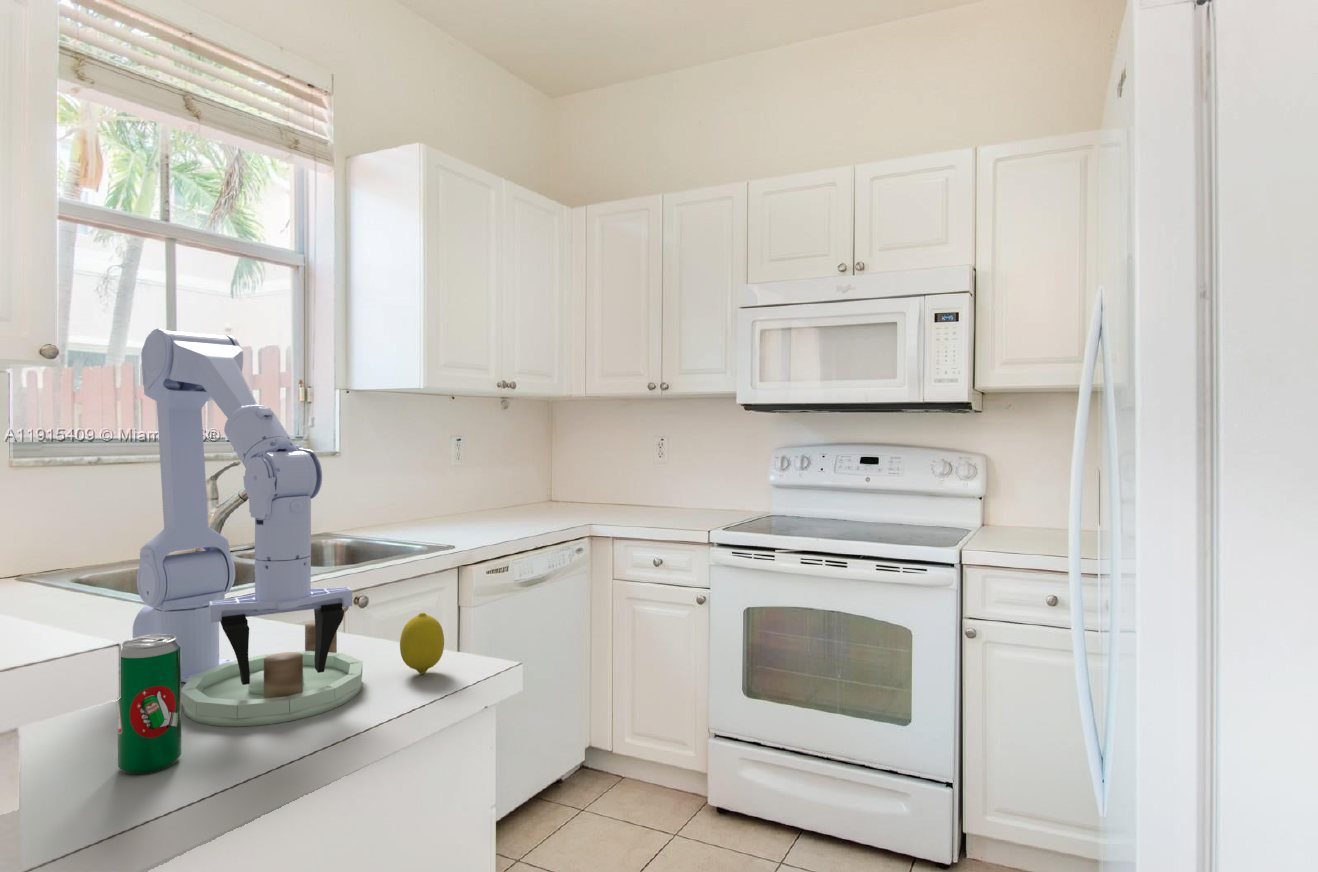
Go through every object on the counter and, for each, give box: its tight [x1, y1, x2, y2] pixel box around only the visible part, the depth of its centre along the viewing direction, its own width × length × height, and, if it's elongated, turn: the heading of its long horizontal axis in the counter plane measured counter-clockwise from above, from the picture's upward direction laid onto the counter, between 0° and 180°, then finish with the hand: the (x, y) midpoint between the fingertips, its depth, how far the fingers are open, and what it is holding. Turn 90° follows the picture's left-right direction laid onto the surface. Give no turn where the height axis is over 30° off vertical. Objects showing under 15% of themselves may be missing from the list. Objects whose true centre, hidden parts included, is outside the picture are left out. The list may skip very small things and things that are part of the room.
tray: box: [181, 650, 363, 727], centre depth 93 cm, size 19×19×2 cm
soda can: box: [117, 634, 182, 776], centre depth 74 cm, size 5×5×12 cm
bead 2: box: [304, 620, 338, 653], centre depth 106 cm, size 4×4×5 cm
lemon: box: [399, 612, 445, 675], centre depth 101 cm, size 6×6×8 cm
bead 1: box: [264, 651, 303, 699], centre depth 88 cm, size 4×4×5 cm
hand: (283, 675), depth 88 cm, fingers open, 7 cm apart
